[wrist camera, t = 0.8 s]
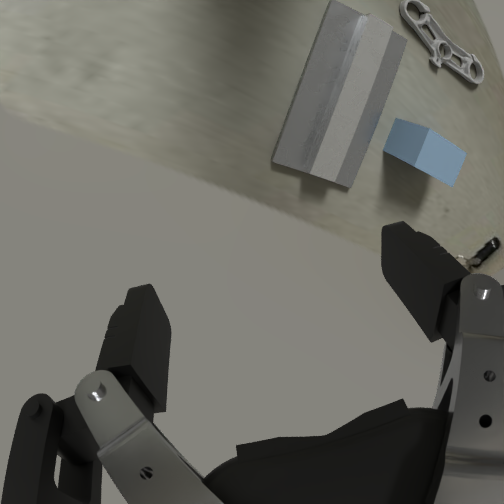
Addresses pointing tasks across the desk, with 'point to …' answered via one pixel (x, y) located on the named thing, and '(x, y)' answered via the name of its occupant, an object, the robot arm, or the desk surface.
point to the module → (425, 150)
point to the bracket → (443, 39)
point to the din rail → (322, 88)
